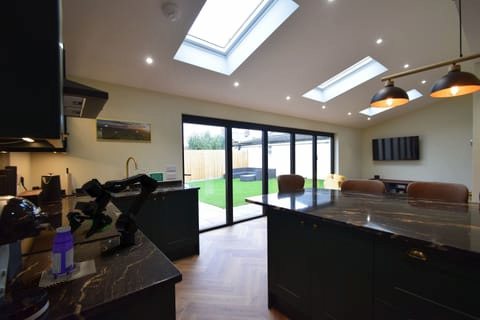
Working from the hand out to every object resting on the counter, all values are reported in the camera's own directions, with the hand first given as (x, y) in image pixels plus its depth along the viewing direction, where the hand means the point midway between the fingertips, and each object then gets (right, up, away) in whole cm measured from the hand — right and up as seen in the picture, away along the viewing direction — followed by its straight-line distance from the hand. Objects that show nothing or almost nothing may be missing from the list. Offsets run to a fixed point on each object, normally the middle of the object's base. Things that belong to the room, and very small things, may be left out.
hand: (76, 237), depth 83 cm
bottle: (-1, -12, -5) cm, 13 cm away
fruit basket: (-24, -14, +49) cm, 57 cm away
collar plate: (0, -12, -3) cm, 13 cm away
